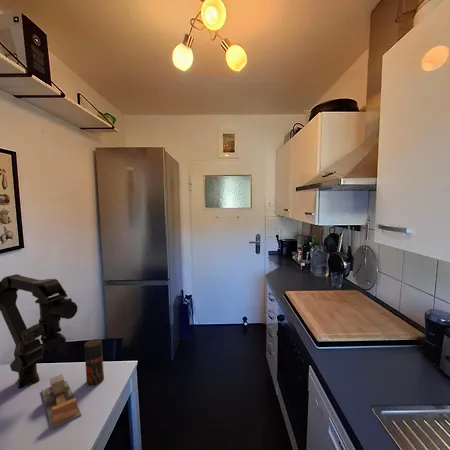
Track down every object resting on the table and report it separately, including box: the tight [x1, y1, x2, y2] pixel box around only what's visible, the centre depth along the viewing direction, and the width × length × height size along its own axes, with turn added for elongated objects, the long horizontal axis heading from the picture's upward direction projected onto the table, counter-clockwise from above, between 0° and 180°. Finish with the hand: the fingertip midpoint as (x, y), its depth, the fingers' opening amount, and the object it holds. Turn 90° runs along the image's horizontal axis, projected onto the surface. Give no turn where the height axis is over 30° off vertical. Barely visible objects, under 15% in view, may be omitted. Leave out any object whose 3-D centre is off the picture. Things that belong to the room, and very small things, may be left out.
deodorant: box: [83, 338, 105, 387], centre depth 102 cm, size 6×6×15 cm
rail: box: [41, 381, 82, 430], centre depth 91 cm, size 22×8×5 cm, turn 41°
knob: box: [46, 373, 70, 402], centre depth 94 cm, size 4×6×6 cm, turn 131°
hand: (52, 356), depth 98 cm, fingers closed
